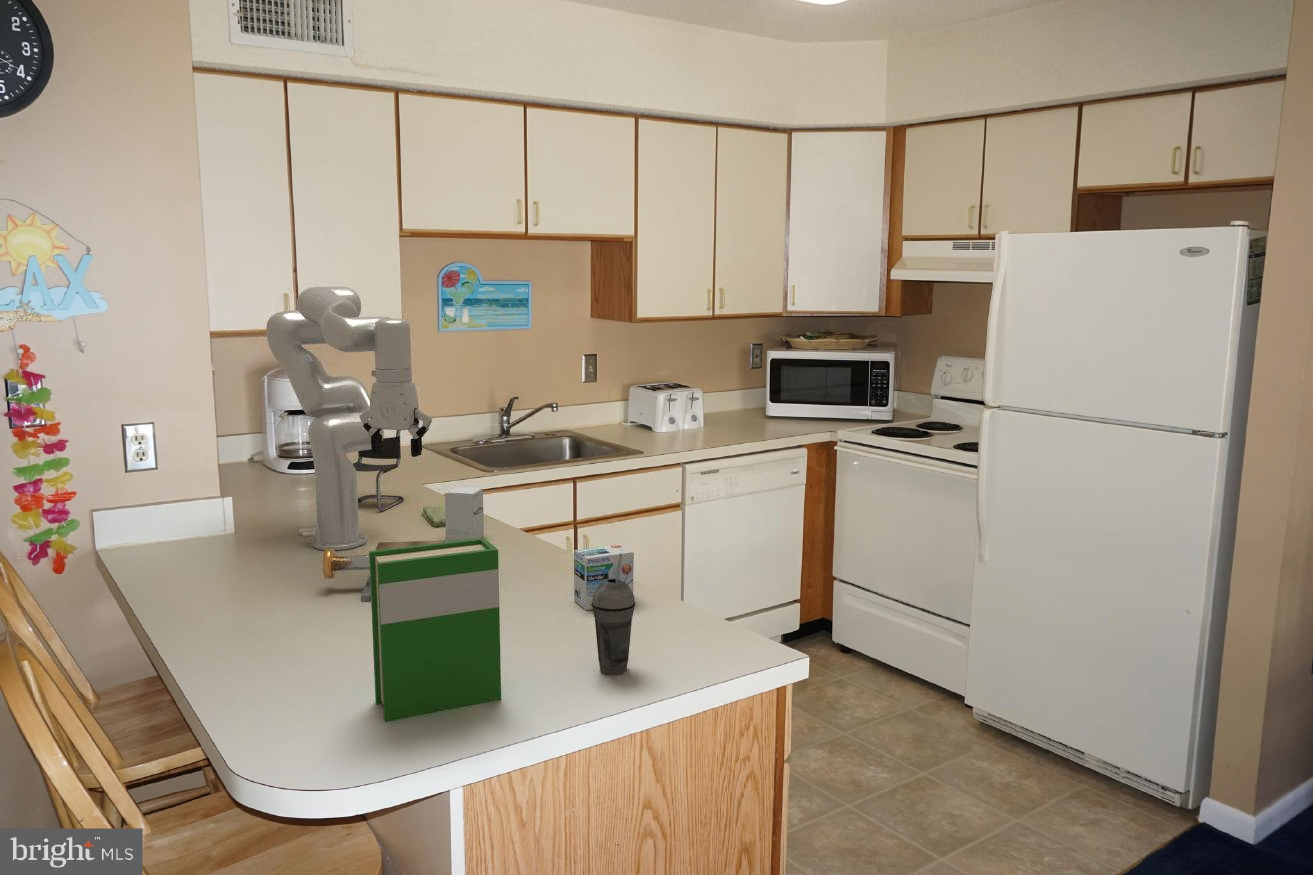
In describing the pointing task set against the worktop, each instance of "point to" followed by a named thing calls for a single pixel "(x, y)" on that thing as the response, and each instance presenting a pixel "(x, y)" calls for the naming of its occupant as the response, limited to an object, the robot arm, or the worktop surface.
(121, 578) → the worktop surface
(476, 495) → the supplement box
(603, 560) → the light bulb box
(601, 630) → the beverage cup
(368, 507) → the worktop surface
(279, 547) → the worktop surface
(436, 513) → the washcloth
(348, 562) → the shaft
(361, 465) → the chair
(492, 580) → the hardback book
